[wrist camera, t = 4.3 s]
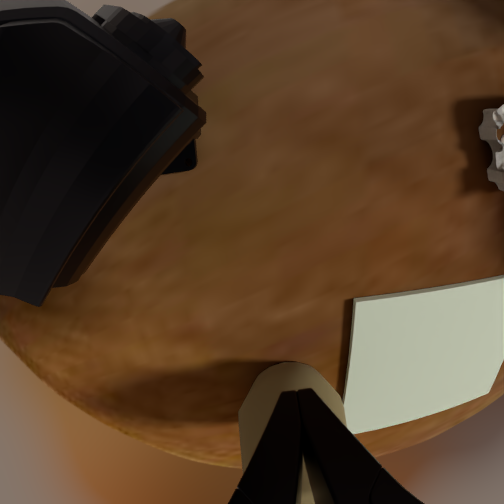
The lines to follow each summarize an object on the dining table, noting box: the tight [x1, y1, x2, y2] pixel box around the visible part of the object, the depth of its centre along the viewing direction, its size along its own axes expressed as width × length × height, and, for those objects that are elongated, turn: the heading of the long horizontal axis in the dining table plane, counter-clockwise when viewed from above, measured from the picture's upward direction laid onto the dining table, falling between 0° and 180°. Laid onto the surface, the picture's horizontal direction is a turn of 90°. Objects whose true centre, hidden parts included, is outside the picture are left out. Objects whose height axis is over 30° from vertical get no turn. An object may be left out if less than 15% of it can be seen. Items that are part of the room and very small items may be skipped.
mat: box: [342, 275, 504, 434], centre depth 23 cm, size 20×16×1 cm
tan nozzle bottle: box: [238, 362, 347, 504], centre depth 15 cm, size 8×8×18 cm
